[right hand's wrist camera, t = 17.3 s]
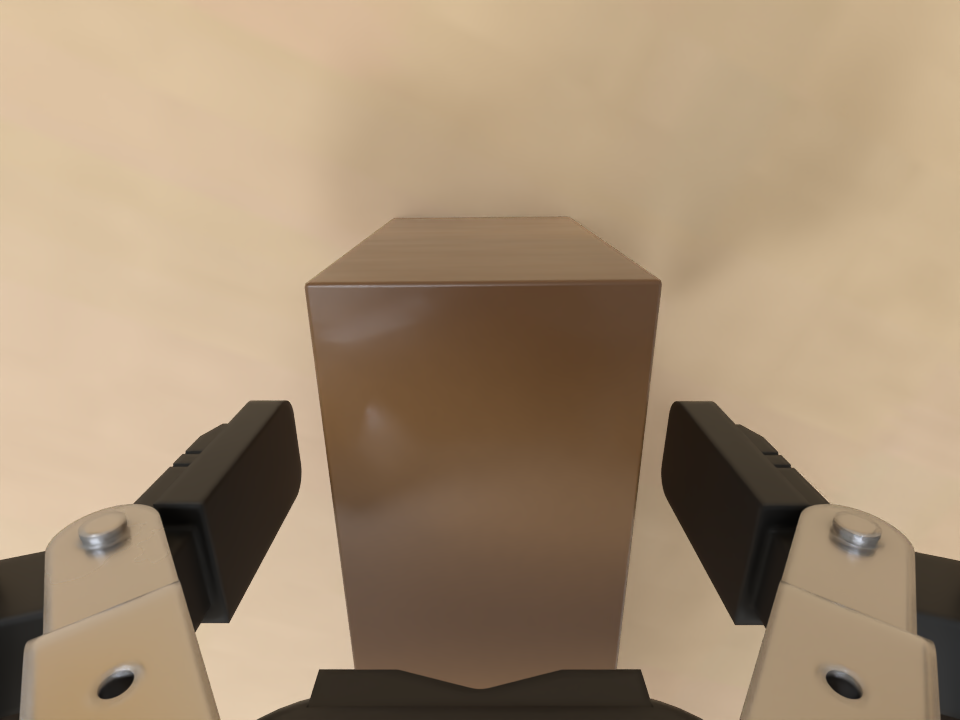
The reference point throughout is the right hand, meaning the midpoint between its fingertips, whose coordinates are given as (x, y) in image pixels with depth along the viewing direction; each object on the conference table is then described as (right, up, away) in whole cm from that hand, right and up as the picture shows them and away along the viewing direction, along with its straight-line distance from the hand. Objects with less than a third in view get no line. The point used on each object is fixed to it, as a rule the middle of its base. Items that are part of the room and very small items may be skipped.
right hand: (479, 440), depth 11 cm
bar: (0, -5, +8) cm, 10 cm away
